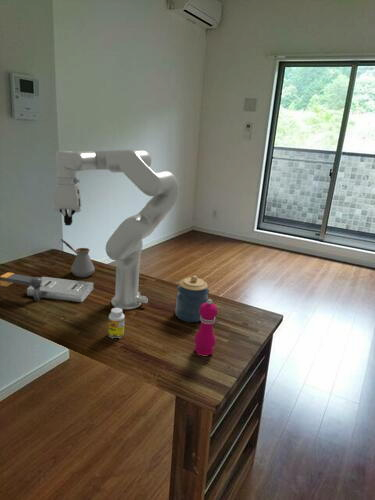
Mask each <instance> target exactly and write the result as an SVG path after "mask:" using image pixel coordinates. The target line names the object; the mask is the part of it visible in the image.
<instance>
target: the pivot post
mask: <svg viewBox="0 0 375 500" xmlns="http://www.w3.org/2000/svg"><path fill="white" fill-rule="evenodd" d="M33 299H34V300H33V301H35V302H40V301H41V297H40V287H38V288H34V296H33Z"/></svg>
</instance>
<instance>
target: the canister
mask: <svg viewBox="0 0 375 500" xmlns="http://www.w3.org/2000/svg"><path fill="white" fill-rule="evenodd" d="M208 285H209V284H208V283H207V282H206V281H204V280H203V279H201V278H200V277H197V275H192V276H189V277H185V278H184V279H182V280H180V281H179V285H178V286H177V287H176V290H177V294H176V305H175V311H174V313H175V316H177V317H178V318H179V319H178V318H177V317H176V318H177V319H178V320H180V319H181V320H180V321H182V320H183V321H182V322H185V321H186V322H185V323H190V322H196V323H200V322H199V321H200V316H201V314H200V307H201V305H202V304H204V303H206V302H207V300H208V299H209V296H208V294H209V293H210V289H209V288H208V287H209V286H208Z"/></svg>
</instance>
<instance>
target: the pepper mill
mask: <svg viewBox="0 0 375 500" xmlns="http://www.w3.org/2000/svg"><path fill="white" fill-rule="evenodd" d="M200 314H201V316H200V321H201V322H200V328H199V329H198V331H197V332H196V334H195V336H194V343H195V347H194V351H196V352H197V353H198V354H201V355H210V354H212V353H213V354H214V347H215V346H216V340H217V339H216V336H215V333H214V329H213V327H214V326H213V325H214V323H215V321H216V316H217V315H218V307H217V305H216V304H215V303H213V300H212V299H211V298H208V300H207V302H206V303H204V304H202V305H201V307H200ZM196 352H195V353H196ZM198 354H197V355H198ZM213 354H212V355H213Z"/></svg>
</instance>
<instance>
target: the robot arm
mask: <svg viewBox="0 0 375 500" xmlns="http://www.w3.org/2000/svg"><path fill="white" fill-rule="evenodd" d="M55 153H56V154H55V162H56V167H55V168H56V184H55V187H54V198H53V199H54V210H55V211H57V212H60V213H61V215H62V216H63V222H64V225H65V226H71V225H72V224H73V216H74V214H75V213H77V214H78V213H80V212H81V207H82V197H81V191H80V187H79V184H80V179H78V178H77V172H86V171H95V170H98V171H99V170H102V171H103V170H105V171H109V172H111V173H123V174H124V176H126V178H128V179H129V180H130V181H131V183H132V184H134V186H136V187H137V189H138V190H139V191H140V192H142V193H143V194H145V195H146V196H148V197H151V198H150V199H149V200H148V201H147V203H146V204H145V206H144V207H143V208H142V209H141V210H140V211H139V212H138V213H137V214H134V215H132V216H129V217H127V218H125V219H124V220H123V221H122V222H121V223H120V224H119V226H117V228H116V229H115V231H114V232H113V233H112V234H111V236H109V238H108V239H107V241H106V243H105V252H106V255H107V257H108V258H109V259H110V260H112V261H115V262H116V264H115V292H114V293H115V294H114V297H112V298H111V305H112V306H113V308H121V309H122V310H134V309H136V308H139V307H140V306H141V304H142V303H144V304H148V303H149V298H147V296H146V295H145V296H144V295H141V292H140V291H139V285H140V284H139V281H140V279H139V278H140V265H141V263H140V262H141V255H142V251H143V239H146V238H147V237H149V236H151V234H153V232H154V231H155V230H156V228H157V227H158V226H159V225H160V224H161V222H162V221H163V220H164V218H165V217H166V216H167V215H168V214H169V213H170V211H171V210H172V209H173V208H174V206H175V204H176V202H177V200H178V197H179V192H180V191H179V190H180V189H179V182H178V180H177V178H176V176H175V175H174V174H173V173H172V171H168V170H157V171H153V170H152V168H151V165H152V157H151V155H150V154H149V152H147V150H144V149H139V148H137V149H134V148H131V149H109V150H90V151H89V150H81V151H72V150H66V149H65V150H57V151H56V152H55ZM78 183H79V184H78Z"/></svg>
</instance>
